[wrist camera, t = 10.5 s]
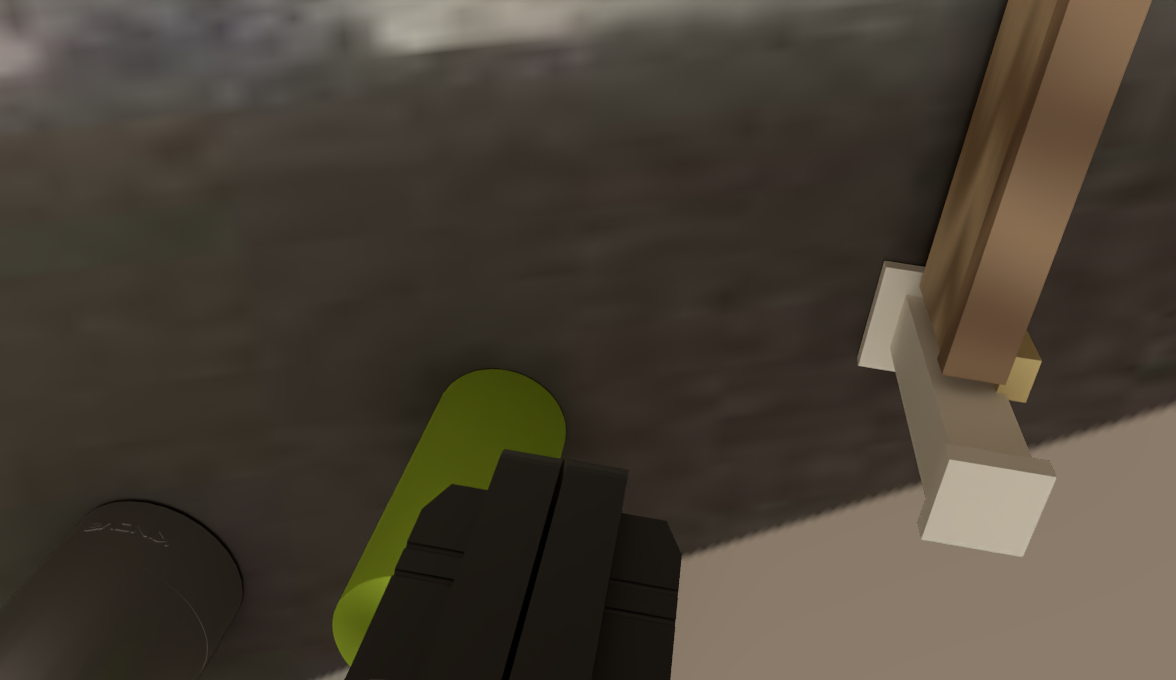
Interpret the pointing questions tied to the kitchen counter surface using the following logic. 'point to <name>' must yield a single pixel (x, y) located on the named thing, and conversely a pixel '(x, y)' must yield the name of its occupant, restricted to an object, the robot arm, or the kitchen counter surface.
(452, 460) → the soap dispenser
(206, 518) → the kitchen counter surface
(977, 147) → the gate
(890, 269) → the post
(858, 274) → the kitchen counter surface
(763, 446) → the kitchen counter surface
